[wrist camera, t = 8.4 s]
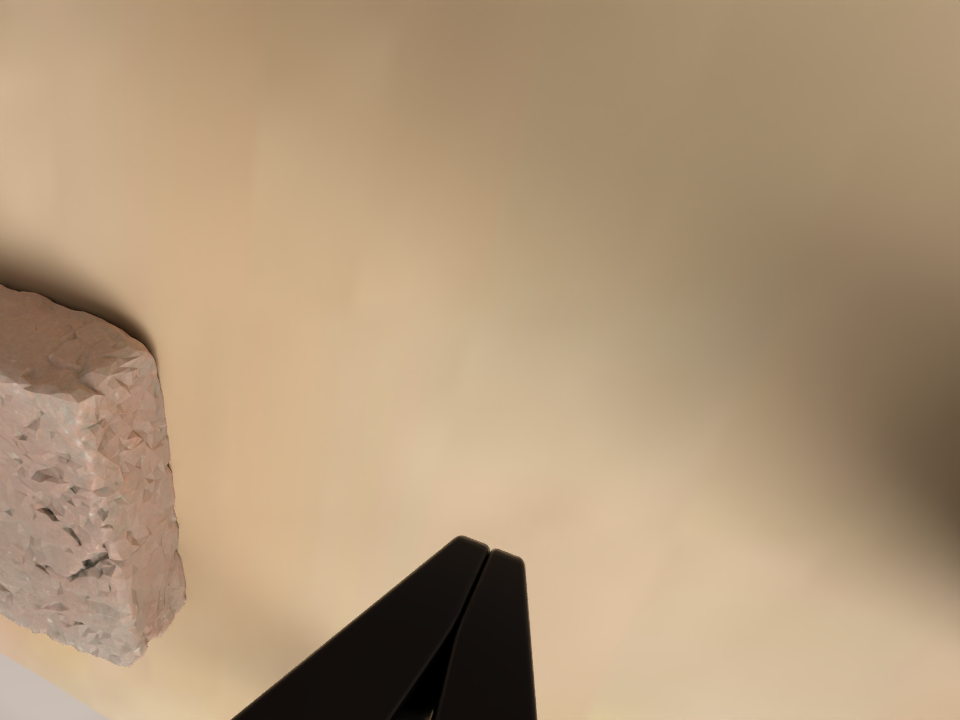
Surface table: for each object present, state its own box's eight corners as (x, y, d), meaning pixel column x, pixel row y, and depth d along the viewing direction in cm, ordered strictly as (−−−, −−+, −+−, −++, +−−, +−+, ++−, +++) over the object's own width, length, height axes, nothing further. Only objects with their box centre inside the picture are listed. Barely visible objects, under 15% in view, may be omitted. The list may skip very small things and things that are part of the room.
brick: (196, 607, 36) (129, 690, 32) (53, 547, 37) (-27, 619, 33) (170, 326, 26) (70, 396, 22) (-20, 259, 28) (-144, 315, 24)
